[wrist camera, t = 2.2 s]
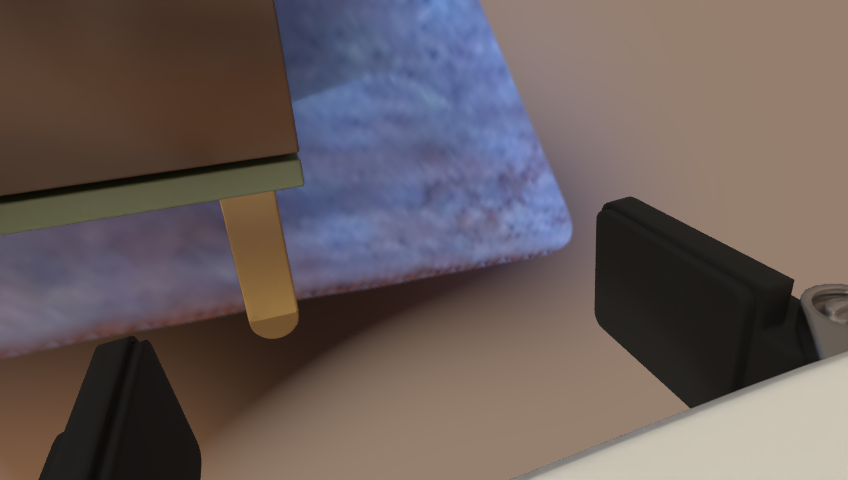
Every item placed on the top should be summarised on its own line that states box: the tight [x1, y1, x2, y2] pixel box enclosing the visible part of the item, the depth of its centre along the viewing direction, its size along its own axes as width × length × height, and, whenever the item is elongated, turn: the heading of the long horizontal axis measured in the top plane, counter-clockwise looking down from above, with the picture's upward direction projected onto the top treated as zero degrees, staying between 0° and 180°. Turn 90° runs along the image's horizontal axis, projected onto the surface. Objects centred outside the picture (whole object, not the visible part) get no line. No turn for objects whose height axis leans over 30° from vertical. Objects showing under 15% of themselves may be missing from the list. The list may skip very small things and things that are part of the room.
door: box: [0, 153, 304, 339], centre depth 24 cm, size 8×14×14 cm, turn 93°
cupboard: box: [0, 0, 299, 196], centre depth 20 cm, size 10×14×14 cm
